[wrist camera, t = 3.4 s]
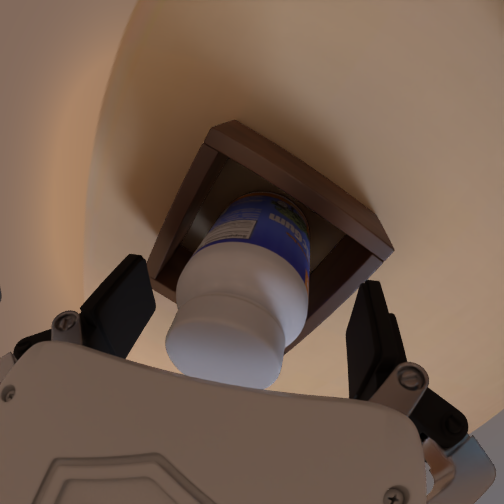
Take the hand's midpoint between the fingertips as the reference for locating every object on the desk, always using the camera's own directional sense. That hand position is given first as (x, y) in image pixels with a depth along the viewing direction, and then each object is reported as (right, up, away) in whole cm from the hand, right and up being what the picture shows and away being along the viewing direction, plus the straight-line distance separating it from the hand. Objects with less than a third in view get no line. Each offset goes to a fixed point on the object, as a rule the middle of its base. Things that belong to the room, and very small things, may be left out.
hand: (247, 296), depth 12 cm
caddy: (+1, +3, +5) cm, 6 cm away
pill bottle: (+1, +3, +5) cm, 6 cm away
